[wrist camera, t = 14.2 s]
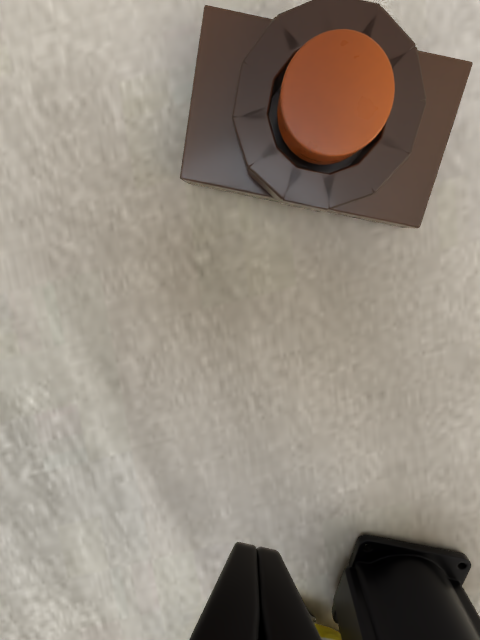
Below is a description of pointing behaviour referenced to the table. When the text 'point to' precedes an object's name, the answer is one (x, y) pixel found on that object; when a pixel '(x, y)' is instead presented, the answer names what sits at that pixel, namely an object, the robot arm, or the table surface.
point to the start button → (335, 96)
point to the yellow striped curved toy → (327, 632)
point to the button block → (262, 125)
